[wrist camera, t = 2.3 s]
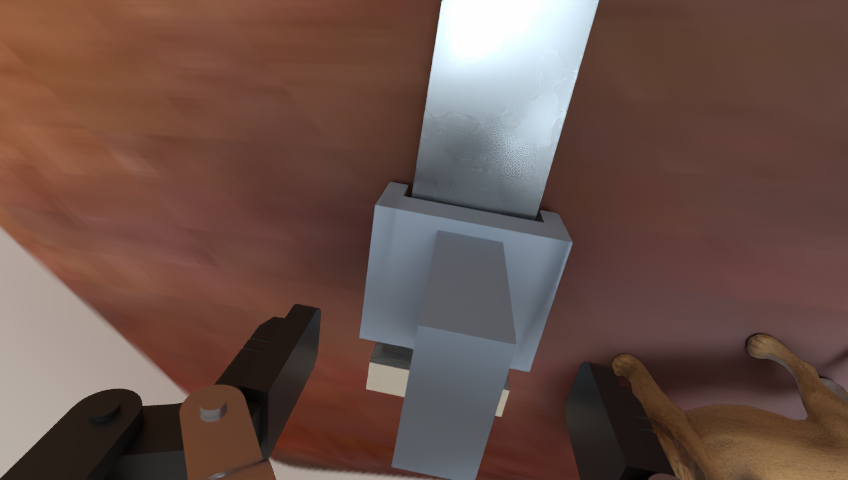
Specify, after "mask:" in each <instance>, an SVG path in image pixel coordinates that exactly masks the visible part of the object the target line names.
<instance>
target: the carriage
mask: <svg viewBox="0 0 848 480" xmlns="http://www.w3.org/2000/svg"><path fill="white" fill-rule="evenodd" d="M408 186H409V185H405V184H400V183H395V182H390V183H389V184H388V186H387V187H386V189H385V191H384V192H383V194H382V195H381V197H380V198H379V200H378V201H377V203H376V205H375V211H374V220H373V228H372V236H371V245H370V253H369V261H368V270H367V278H366V287H365V295H364V303H363V312H362V320H361V328H360V337H359V338H363V339H367V340H372V341H377V342H382V343H387V344H392V345H397V346H402V347H407V348H412V349H413V354H412V360H411V365H410V370H409V376H408V381H407V386H406V392H405V397H404V403H403V408H402V413H401V419H400V424H399V429H398V435H397V440H396V445H395V451H394V456H393V462H392V467H395V468H399V469H404V470H409V471H414V472H418V473H423V474H428V475H432V476H437V477H442V478H447V479H451V480H475V479H476V475H477V472H478V469H479V466H480V462H481V459H482V456H483V453H484V450H485V446H486V443H487V440H488V437H489V433H490V430H491V427H492V424H493V420H494V417H495V414H496V411H497V407H498V404H499V401H500V398H501V395H502V391H503V388H504V385H505V382H506V378H507V375H508V372H509V369H510V368H511V369H516V370H521V371H526V372H529V371H530V368H531V365H532V362H533V360H534V357H535V354H536V351H537V348H538V345H539V342H540V339H541V336H542V333H543V330H544V327H545V324H546V321H547V318H548V315H549V312H550V309H551V306H552V303H553V300H554V297H555V294H556V291H557V288H558V285H559V282H560V279H561V276H562V273H563V270H564V267H565V264H566V261H567V258H568V255H569V252H570V249H571V246H572V243H573V242H572V240H571V238H570V236H569V234H568V232H567V230H566V228H565V226H564V224H563V222H562V220H561V218H560V216H559V214H558V213H554V212H549V211H543V210H539V213H538V216H537V220H536V221H532V220H527V219H522V218H516V217H511V216H506V215H500V214H495V213H490V212H484V211H479V210H474V209H469V208H463V207H458V206H453V205H447V204H442V203H437V202H432V201H426V200H421V199H416V198H410V197H407V193H408Z"/></svg>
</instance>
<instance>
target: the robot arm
mask: <svg viewBox="0 0 848 480" xmlns="http://www.w3.org/2000/svg"><path fill="white" fill-rule="evenodd" d="M320 318H321V310H320V308H315V307H310V306H305V305H300V304H295V305H294V306H293V307H292V309H291V310H290V312H289V313H288V314H287V316H286V317H285V319H284V318H279V317H273V318H271V319H269V320H268V321H266V322H265V323H263V324H261V325H260V326H259V327H258V328H257V330H256V331H255V332H254V334H253V335H252V336H251V339H249V340H248V341H247V343H246V344H245V345H244V347H243V349H241V351H240V352H239V353H238V355H237V356H236V357H235V358H234V360H233V361H232V362H231V364H230V365H229V366H228V368H227V369H226V370H225V372H224V373H223V374H222V376H221V377H220V378H219V379H218V381H217V382H216V383H215V385H212V386H207V387H204V388H202V389H199V390H197V391H195V392H194V393H192V394H191V395H190V396H188V397H187V398H186V400H185V401H184V402H183V403H178V404H170V405H169V404H168V405H152V406H142V400H141V398H140V396H139V395H138V394H137V393H135V392H133V391H130V390H127V389H110V390H105V391H101V392H98V393H95V394H92V395H90V396H88V397H86V398H84V399H83V400H81V401H80V402H78V403H77V404H76V405H75V406H74V407H72V408H71V409H70V410H69V411H68V412H67V413H66V414H65V415H64V416H63V417H62V418H61V419H60V420H59V421H58V422H57V423H56V424H55V425H54V426H53V427H52V428H51V429H50V430H49V431H48V432H47V433H46V434H45V435H44V436H43V437H42V438H41V439H40V440H39V441H38V442H37V443H36V444H35V445H34V446H33V447H32V448H31V449H30V450H29V451H28V452H27V453H26V454H25V455H24V456H23V457H22V458H21V459H20V460H19V461H18V462H17V463H16V464H15V465H14V466H13V467H12V468H10V469H9V471H8V472H7V473H5V474H4V475H3V476H2V477H1V478H0V480H276V478H275V475H274V472H273V469H272V466H271V463H270V461H269V460H268V459H269V457H270V455H271V452H272V450H273V448H274V446H275V444H276V442H277V440H278V438H279V436H280V434H281V432H282V430H283V428H284V426H285V424H286V422H287V420H288V418H289V416H290V414H291V412H292V410H293V408H294V406H295V404H296V402H297V400H298V398H299V396H300V394H301V392H302V390H303V388H304V386H305V384H306V382H307V380H308V378H309V376H310V374H311V372H312V370H313V367H314V364H315V361H316V358H317V353H318V344H319V331H320ZM565 419H566V424H567V428H568V432H569V436H570V440H571V444H572V448H573V452H574V456H575V460H576V464H577V468H578V472H579V476H580V480H681V479H679V478H677V477H676V475H675V473H674V471H673V469H672V466H671V464H670V462H669V460H668V458H667V456H666V454H665V452H664V450H663V448H662V445H661V443H660V441H659V439H658V437H657V435H656V433H654V429H653V427H652V424H651V422H650V420H648V416H647V414H646V412H645V410H644V408H643V406H642V403H641V402H640V401H639V399H638V398H637V397H636V396H635V395H634V394H633V393H632V392H631V391H630V390H629V389H628V387H623V386H620V384H619V382H618V379H617V377H616V375H615V373H614V370H613V369H612V367H610V366H606V365H601V364H596V363H591V362H586V361H585V362H583V363H582V364H581V366H580V369H579V371H578V374H577V376H576V379H575V381H574V384H573V386H572V389H571V391H570V394H569V396H568V399H567V402H566V408H565Z"/></svg>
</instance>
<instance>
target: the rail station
mask: <svg viewBox="0 0 848 480" xmlns="http://www.w3.org/2000/svg"><path fill="white" fill-rule="evenodd" d="M598 2H599V0H442V4H441V10H440V17H439V23H438V30H437V36H436V42H435V49H434V55H433V62H432V68H431V75H430V81H429V87H428V94H427V100H426V107H425V113H424V120H423V126H422V133H421V139H420V145H419V152H418V158H417V165H416V171H415V178H414V184H413V190H412V197H411V198H416V199H421V200H426V201H432V202H437V203H442V204H447V205H453V206H458V207H463V208H469V209H474V210H479V211H484V212H490V213H495V214H500V215H506V216H511V217H516V218H522V219H527V220H532V221H535V220H536V217H537V213H538V210H539V206H540V203H541V199H542V196H543V192H544V189H545V185H546V182H547V178H548V175H549V171H550V168H551V165H552V161H553V158H554V154H555V151H556V147H557V144H558V140H559V137H560V133H561V130H562V126H563V123H564V119H565V116H566V112H567V109H568V106H569V102H570V99H571V95H572V92H573V88H574V85H575V81H576V78H577V74H578V71H579V67H580V64H581V60H582V57H583V54H584V50H585V47H586V43H587V40H588V36H589V33H590V29H591V26H592V22H593V19H594V15H595V12H596V8H597V5H598ZM412 354H413V349H412V348H407V347H402V346H397V345H392V344H387V343H382V342H377V343H376V345H375V348H374V351H373V354H372V357H371V360H370V364H369V372H368V379H367V386H366V389H368V390H373V391H378V392H383V393H388V394H393V395H397V396H402V397H405V392H406V386H407V381H408V376H409V370H410V365H411V360H412ZM508 394H509V380H508V375H507V378H506V382H505V385H504V388H503V391H502V395H501V398H500V401H499V404H498V407H497V411H496V414H495V416H500V417H501V416H502V413H503V410H504V407H505V403H506V400H507V397H508Z"/></svg>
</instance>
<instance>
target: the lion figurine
mask: <svg viewBox="0 0 848 480" xmlns="http://www.w3.org/2000/svg"><path fill="white" fill-rule="evenodd" d="M747 351H748V352H749V354H750V355H751V356H753V357H755V358H759V359H771V360H774V361H776V362H778V363H780V364H781V365H783V366H784V367H785V368H786V369H788V370H789V371H790V373H791V374H792V375H793V376H794V378H795V381H796V383H797V387H798V390H799V394H800V397H801V400H802V403H803V405H804V407H805V409H806V411H807V414H808V417H807V419H805V420H793V419H790V418H787V417H784V416H782V415H779V414H776V413H772V412H769V411H766V410H762V409H758V408H754V407H751V406H746V405H731V404H720V405H710V406H704V407H699V408H695V409H691V410H687V411H683V410H682V409H681V408H680V407H679V406H677V405H676V404H675V403H674V402H672V401H671V400H670V399H669V398H668V397H667V396H666V395H665V394H664V393H663V392H662V391H661V389H660V388H659V386H658V385H657V384H656V383H655V381H654V380H653V379H652V377H651V375H650V374H649V372H648V371H647V369H646V368H645V367H644V366H643V364H642V363H641V362H640V361H639V360H637V359H636V358H635V357H633V356H631V355H629V354H620V355H618V356H617V357H616V358H614V360H613V362H612V367H613V369H614V373H615V374H616V375H618V376H625V377H626V378H627V380H628V381H630V382H631V383H632V392H633V394H634V395H635V396H636V397H637V398H638V399H639V401H640V402H641V403H642V406H643V408H644V410H645V412H646V414H647V416H648V420H650V422H651V424H652V427H653V429H654V433H656V435H657V437H658V439H659V441H660V443H661V445H662V448H663V450H664V452H665V454H666V456H667V458H668V460H669V462H670V464H671V466H672V469H673V471H674V473H675V475H676V477H677V478H679V479H681V480H848V393H847V392H846V390H845V389H844V388H843V387H841V386H840V385H838V384H837V383H835V382H833V381H831V380H828V379H823V378H819V376H818V374H817V372H816V370H815V368H814V367H813V366H811V365H810V364H809V363H807V362H805V361H804V360H802V359H801V358H799V357H798V356H796V355H794V354H793V353H792V352H790V351H789V350H788V349H787V348H785V347H784V346H783V345H782V344H781V343H780V342H778V341H777V340H776V339H774V338H772V337H770V336H767V335H763V334H758V335H755V336H753V337H751V338H750V339H749V340H748V344H747Z"/></svg>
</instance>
